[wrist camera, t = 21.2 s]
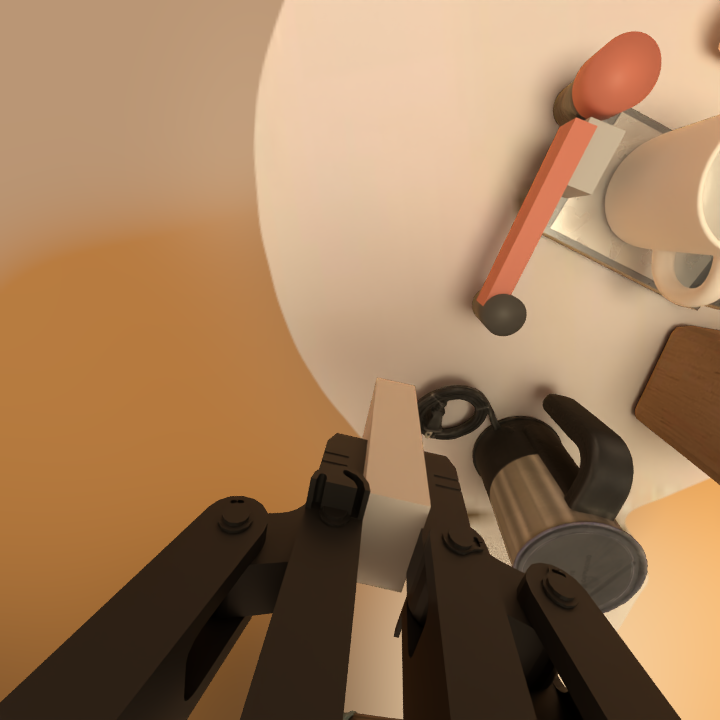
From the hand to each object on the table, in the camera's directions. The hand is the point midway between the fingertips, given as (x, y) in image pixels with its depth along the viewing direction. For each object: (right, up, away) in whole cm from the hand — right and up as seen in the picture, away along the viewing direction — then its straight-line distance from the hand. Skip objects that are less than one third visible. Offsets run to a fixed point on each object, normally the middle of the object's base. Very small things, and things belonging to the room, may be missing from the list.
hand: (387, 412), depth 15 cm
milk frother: (+12, -6, +25) cm, 29 cm away
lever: (+13, +14, +15) cm, 24 cm away
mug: (+22, +13, +15) cm, 30 cm away
